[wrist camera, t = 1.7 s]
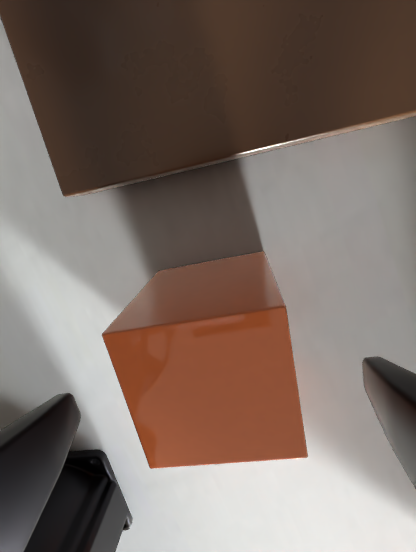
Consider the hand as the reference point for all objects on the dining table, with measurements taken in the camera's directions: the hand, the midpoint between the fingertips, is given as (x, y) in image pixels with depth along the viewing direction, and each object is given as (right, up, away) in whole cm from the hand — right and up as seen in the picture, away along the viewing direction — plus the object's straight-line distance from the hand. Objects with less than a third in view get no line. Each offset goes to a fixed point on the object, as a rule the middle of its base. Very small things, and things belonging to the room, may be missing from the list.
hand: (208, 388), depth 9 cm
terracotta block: (+1, +2, +5) cm, 6 cm away
